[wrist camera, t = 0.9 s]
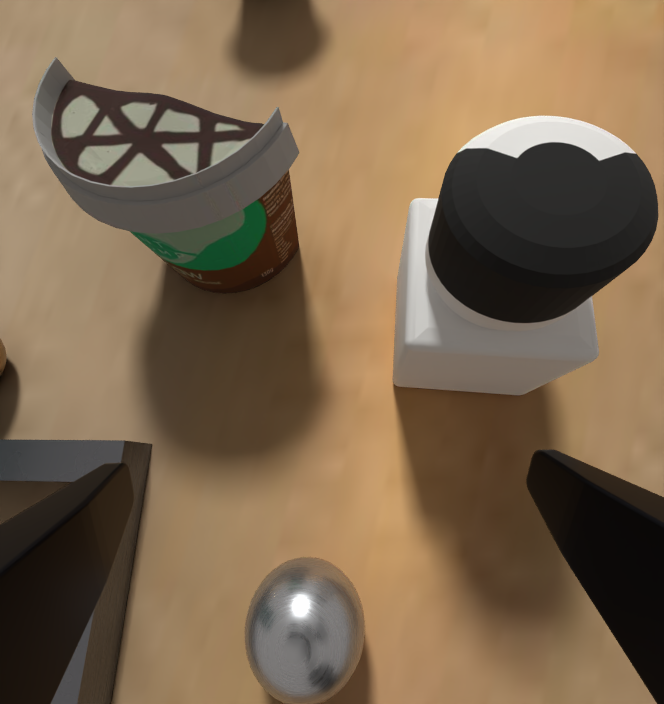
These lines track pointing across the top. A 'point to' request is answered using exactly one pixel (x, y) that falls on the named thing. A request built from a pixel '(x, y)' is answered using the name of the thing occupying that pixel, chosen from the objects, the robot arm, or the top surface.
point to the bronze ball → (2, 357)
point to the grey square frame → (108, 616)
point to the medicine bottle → (518, 256)
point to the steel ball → (304, 631)
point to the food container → (174, 177)
